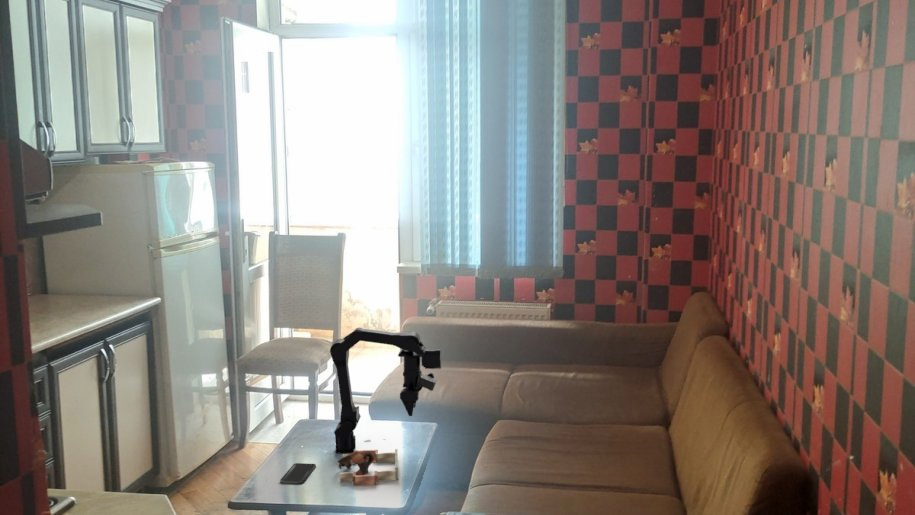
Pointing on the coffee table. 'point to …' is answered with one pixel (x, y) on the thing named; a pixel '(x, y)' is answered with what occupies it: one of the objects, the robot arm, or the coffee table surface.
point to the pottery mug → (357, 462)
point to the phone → (298, 473)
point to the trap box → (377, 474)
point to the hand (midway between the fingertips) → (412, 411)
